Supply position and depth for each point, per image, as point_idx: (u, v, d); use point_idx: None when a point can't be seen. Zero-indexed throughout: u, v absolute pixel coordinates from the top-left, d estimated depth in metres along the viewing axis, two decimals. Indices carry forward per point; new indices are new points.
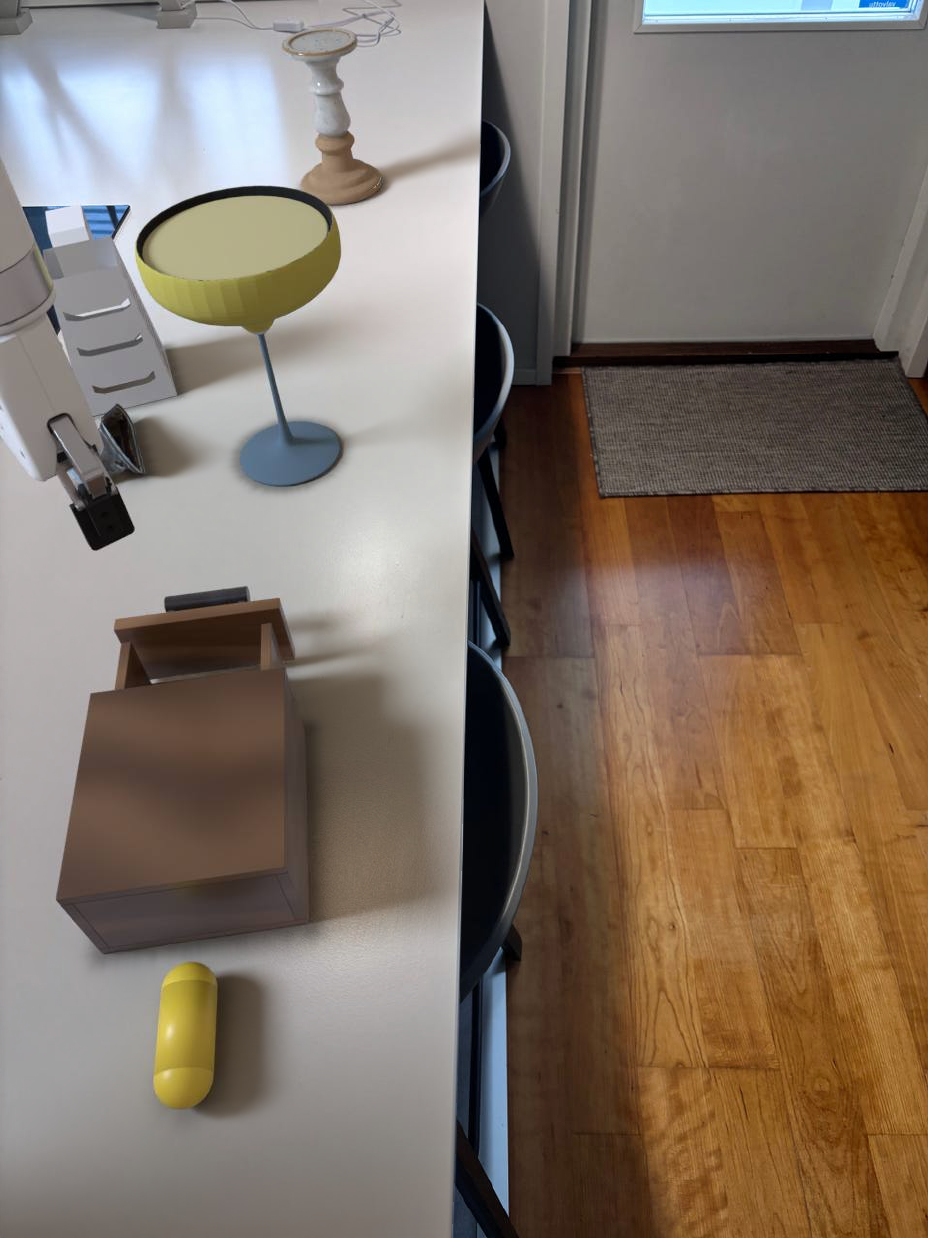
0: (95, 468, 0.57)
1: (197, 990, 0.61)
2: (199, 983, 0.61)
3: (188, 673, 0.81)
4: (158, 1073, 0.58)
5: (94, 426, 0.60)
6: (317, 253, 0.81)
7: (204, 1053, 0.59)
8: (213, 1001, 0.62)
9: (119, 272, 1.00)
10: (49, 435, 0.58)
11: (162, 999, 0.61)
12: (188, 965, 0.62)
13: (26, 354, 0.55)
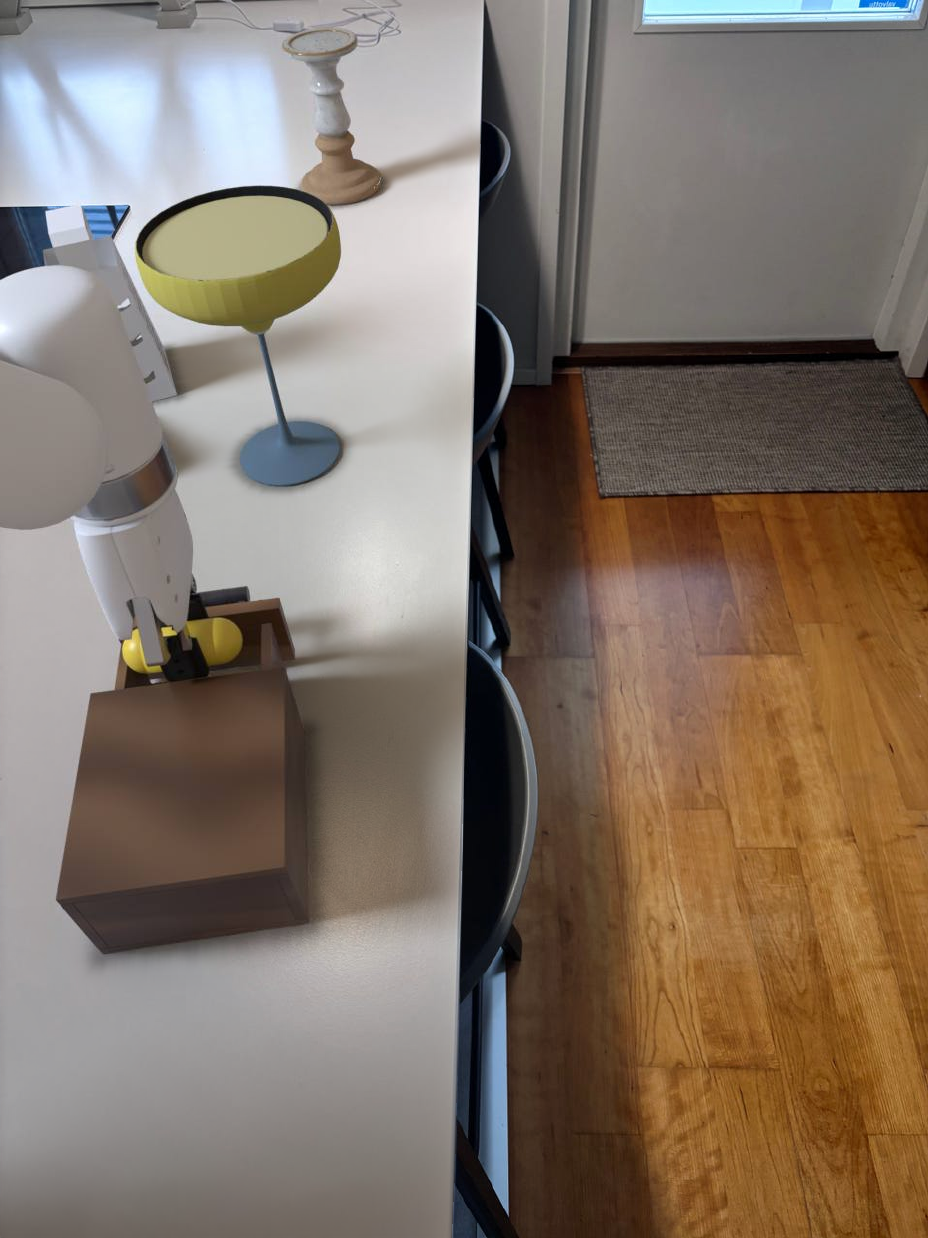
0: (159, 661, 0.63)
1: (206, 652, 0.71)
2: (212, 653, 0.71)
3: None
4: None
5: (174, 611, 0.63)
6: (317, 253, 0.81)
7: (157, 667, 0.71)
8: None
9: (119, 272, 1.00)
10: (127, 611, 0.62)
11: (202, 622, 0.72)
12: (229, 640, 0.71)
13: (115, 548, 0.58)
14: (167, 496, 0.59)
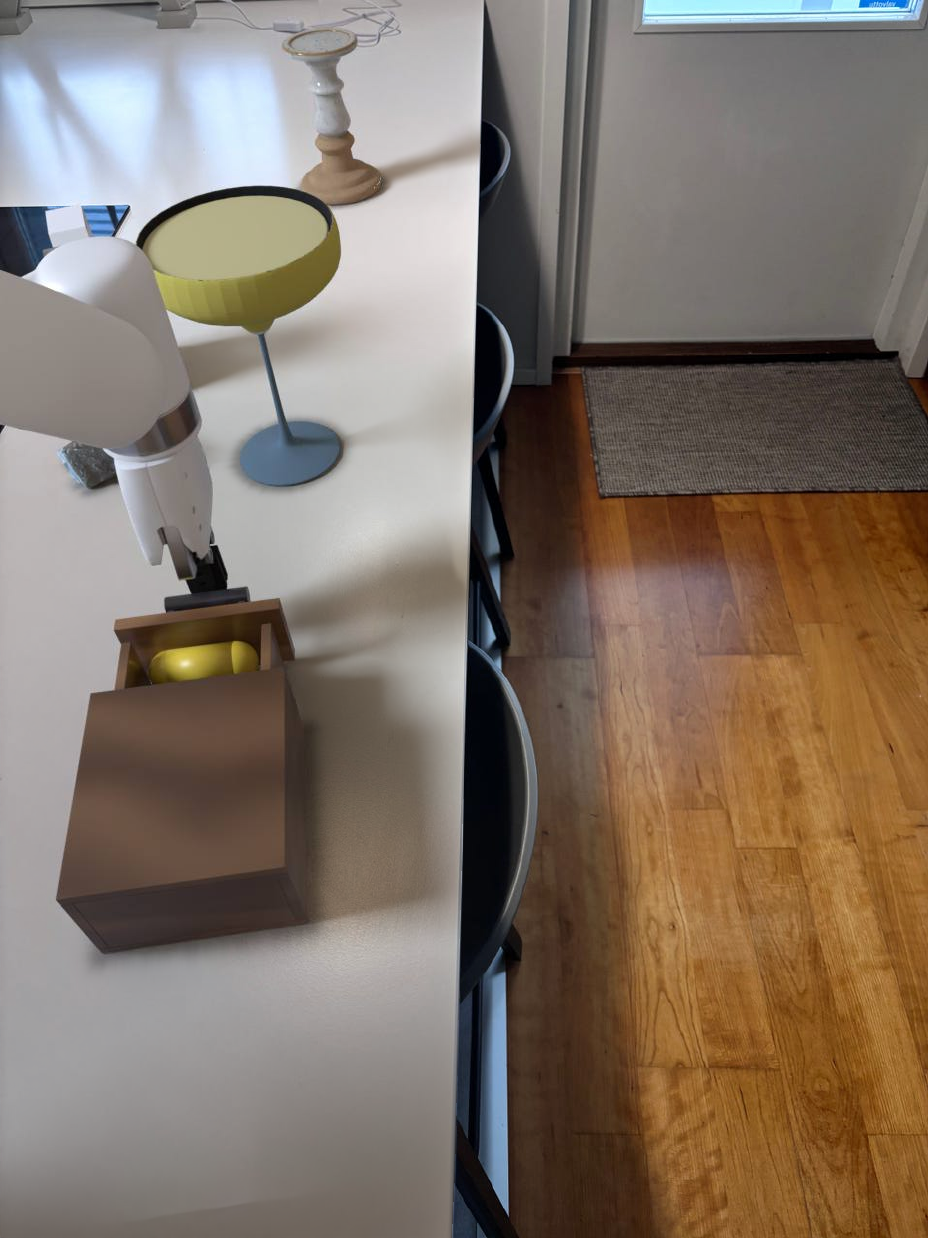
0: (189, 576, 0.75)
1: (223, 646, 0.77)
2: (229, 646, 0.77)
3: None
4: None
5: (198, 539, 0.73)
6: (317, 253, 0.81)
7: (176, 659, 0.77)
8: (218, 661, 0.77)
9: None
10: (158, 538, 0.72)
11: None
12: (247, 644, 0.78)
13: (149, 480, 0.68)
14: (193, 437, 0.69)
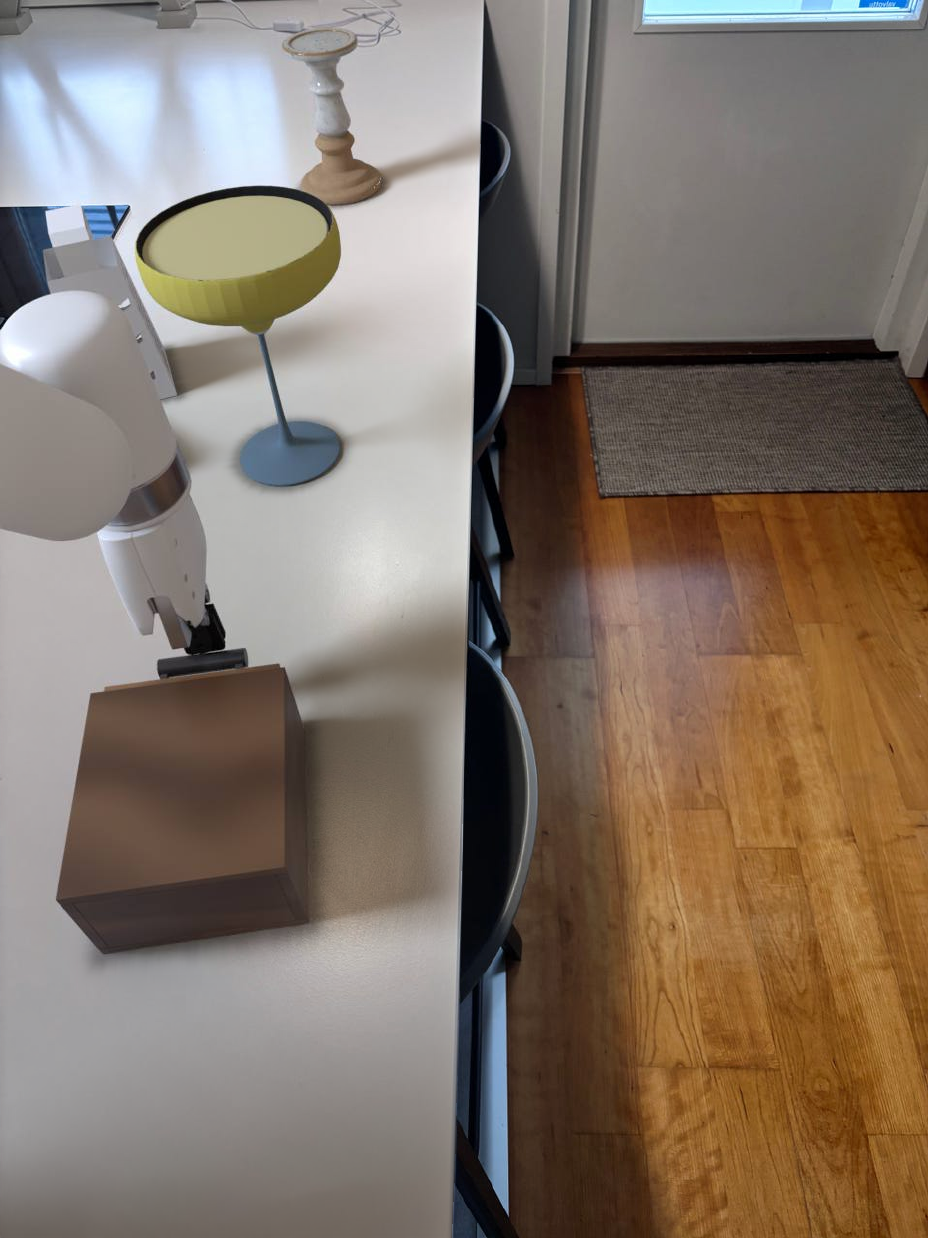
0: (183, 645, 0.69)
1: None
2: None
3: None
4: None
5: (192, 607, 0.67)
6: (317, 253, 0.81)
7: None
8: None
9: (119, 272, 1.00)
10: (148, 609, 0.66)
11: None
12: None
13: (136, 551, 0.63)
14: (182, 501, 0.63)
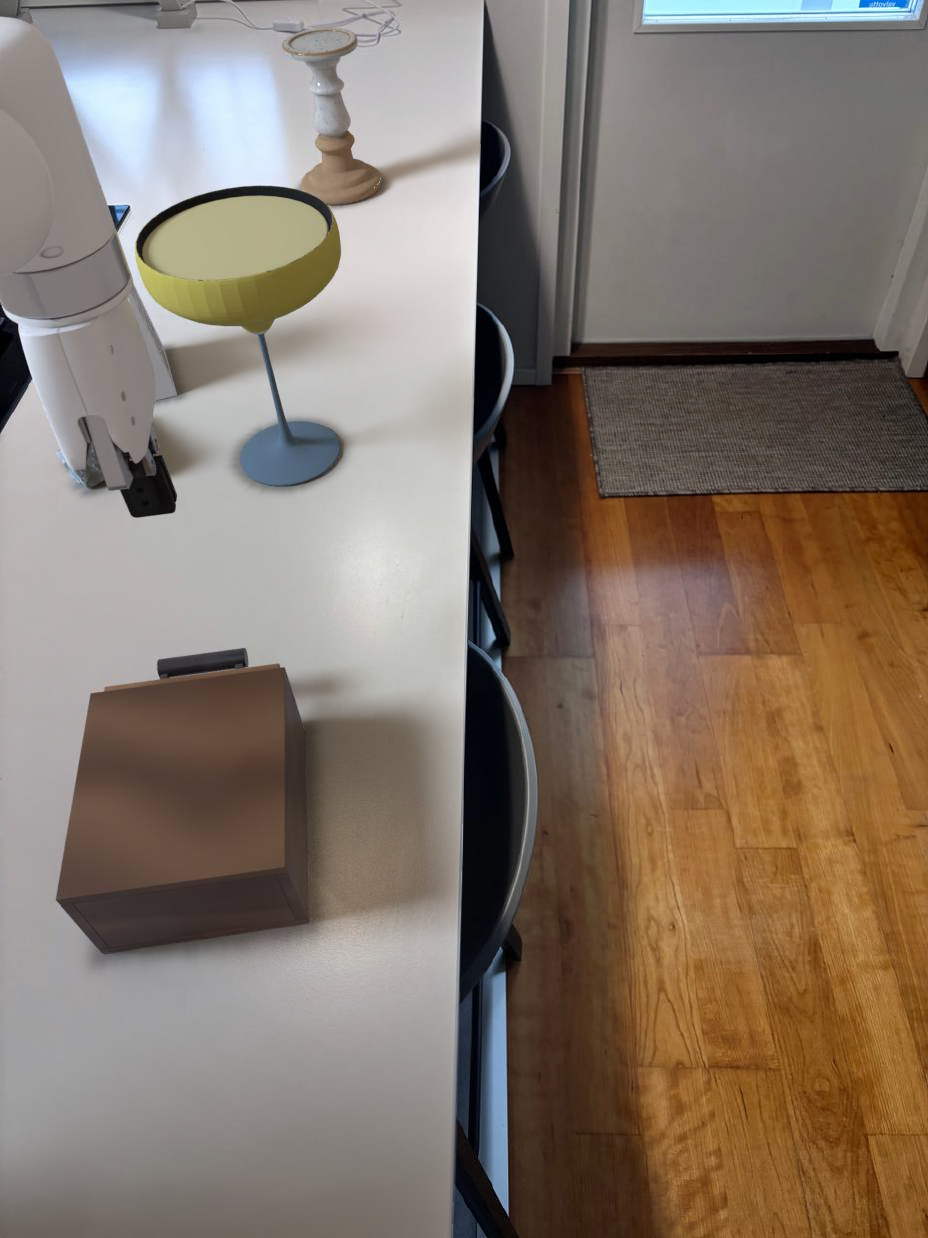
0: (121, 485, 0.60)
1: None
2: None
3: None
4: None
5: (131, 435, 0.58)
6: (317, 253, 0.81)
7: None
8: None
9: None
10: (79, 432, 0.57)
11: None
12: None
13: (63, 352, 0.54)
14: (120, 299, 0.55)
